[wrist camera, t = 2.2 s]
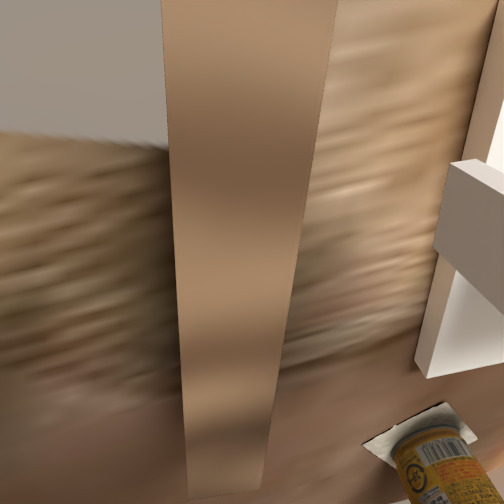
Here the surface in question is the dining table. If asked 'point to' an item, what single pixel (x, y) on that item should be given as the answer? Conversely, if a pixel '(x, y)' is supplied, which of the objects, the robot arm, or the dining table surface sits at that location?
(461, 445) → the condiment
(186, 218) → the walnut batten
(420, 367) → the white board
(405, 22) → the dining table surface
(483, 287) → the robot arm
